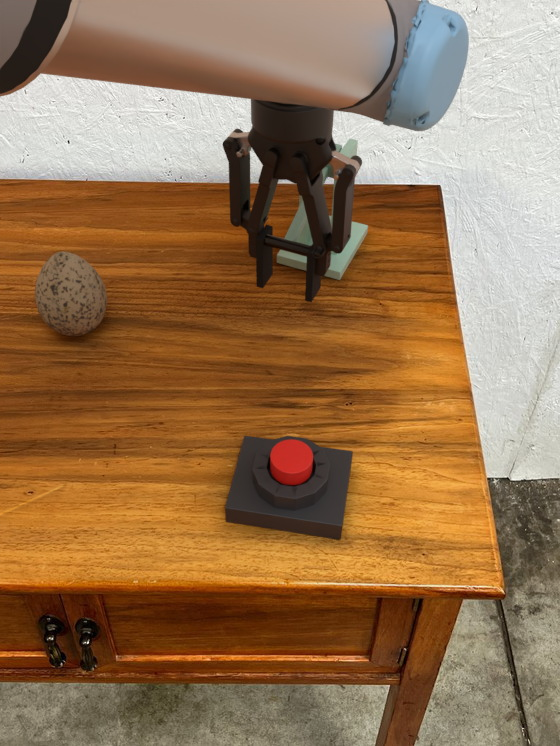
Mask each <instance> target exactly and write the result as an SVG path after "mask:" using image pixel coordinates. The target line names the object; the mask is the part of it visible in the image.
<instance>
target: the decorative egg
mask: <svg viewBox="0 0 560 746" xmlns="http://www.w3.org/2000/svg"><path fill="white" fill-rule="evenodd" d="M107 293H108V292H107V290H106V286H105V284H104V281H103V279H102V276H100V273H99V272H98V271H97V270H96V269H95V268H94V266H92V264H90V263H89V262H88V261H87V260H85V259H84V258H82V257H81V256H80V255H77V254H75V253H73V252H70V251H65V250H63V251H61V250H60V251H56V252H55V253H54V254H52V255H51V256H50V257H49V258H48V259H47V260H46V261H45V262H44V263H43V265H42V266H41V268H40V270H39V272H38V276H37V278H36V282H35V288H34V298H35V304H36V308H37V311H38V313H39V315H40V317H41V319H42V320H43V322H44V323H45V324H46V325H47V326H48V327H49V328H50V329H52V330H53V331H55V332H56V333H57V334H60V335H63V336H67V337H80V336H84V335H87V334H89V333H91V332H92V331H94V330H95V329H96V328H98V326H99V325H100V324H101V323H102V321H103V319H104V317H105V315H106V311H107V307H108V294H107Z"/></svg>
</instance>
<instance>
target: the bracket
mask: <svg viewBox="0 0 560 746" xmlns="http://www.w3.org/2000/svg"><path fill="white" fill-rule="evenodd" d="M358 145H359V140H358V139H354V138H349V139H348V140H347V141H346V143H345V144H344V146H342V150H341V151H340V153H341V154H343V155H345V156H347V157H348V158H351V157H352V156H358ZM336 182H337V181H336V180H334V179H333V190H332V203H331V215H329V217H330V222H331V227H332V223H333V204H334V189H335V185H336ZM298 199H299V200H298V207H299V206H300V204H301V202H302V200H303V198H302V196H300V195H299V194H298ZM368 231H369V225H368V224H365V223H361V222H356V221H353V220H352V225H351V237H350V239H349V241H348V243H347V244H346V246H345V248H344V249H343V251H342V252H341V253H339V254H337V253H334V252H333V251H331V261H330V267H329V269H328V270H327V272H326V274H325V275H324V277H327V278H331V279H334V280H337V281H340V280H341V279H342V278H343V275H344V274H345V272H346V270H347V269H348V267H349V265H350V264H351V262H352V260H353V259H354V257H355V256H356V254H357V252H358V251H359V249H360V247H361V245H362V243H363V242H364V240H365V238H366V237H367V235H368ZM297 242H299V243H303V244H306V245H310V246H312V244H313V241H312V237H311V232H310V228H309V224H308V220H307V221H306V223H305V225H304V227H303V230H302V232H301V234H300V236H299V238H298V240H297ZM276 263H277V264H280V265H283V266H286V267H287V266H288V267H291V268H294V269H298V270H302V271H305V272H306V265H307V257H306V256H302V255H299V254H295V253H291V252H287V251H284V250H280V249H279V250H278V252H277V254H276Z"/></svg>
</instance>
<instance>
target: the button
mask: <svg viewBox="0 0 560 746" xmlns="http://www.w3.org/2000/svg"><path fill="white" fill-rule="evenodd" d="M312 466H313V453H312V450H311V449H310V447H309V446H308V445H307V444H305V443H304V442H301V441H299V440H293V439H289V440H284V441H281V442H279V443H278V444H276V445H275V446H274V447H273V449H272V451H271V455H270V470H271V474H272V476H273V477H274V478H275V479H276V480H277V481H278V482H280V483H282V484H285V485H298V484H301V483H303V482H305V481H306V480H307V479H308V478H309V477H310V475H311V473H312Z"/></svg>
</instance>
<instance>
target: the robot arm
mask: <svg viewBox="0 0 560 746" xmlns="http://www.w3.org/2000/svg"><path fill="white" fill-rule="evenodd" d="M469 36H470V35H469V29H468V25H467V22H466V20H465V19H464V17H463V15H461V14H459V13H458V12H457V11H455V10H452V9H449V8H446V7H442V6H439V5H437V4H433V3H431V2H430V1H429V0H0V97H4V96H5V97H6V96H9V95H11V94H14V93H16V92H17V91H18V92H19V91H20V90H22V89H24V88H25V87H27V86H28V85H29V84H31V83H32V82H33V81H34V80H36V79H37V78H38V77H39V76H40V75H48V76H49V75H50V76H56V77H65V78H73V79H74V78H75V79H83V80H90V81H98V82H106V83H107V82H108V83H115V84H124V85H131V86H133V85H134V86H139V87H147V88H157V89H164V90H171V91H181V92H188V93H189V92H190V93H198V94H205V95H212V96H213V95H214V96H222V97H231V98H237V99H238V98H240V99H248V100H250V122H251V125H252V126H251V128H250V130H249V131H243V130H242V129H241V128H235V129H233V131H232V132H231V133H230V134H229V135H228V136H227V137H226V138H225V139H224V140H223V142H222V148H223V151H224V154H225V157H226V159H227V162H228V187H229V188H228V189H229V221H230V224H231V225H232V226H233V227H236V228H238V227H241V228H243V229H244V230H245V231H246V233H247V235H248V238H247V241H248V242H247V243H248V255H249V257H250V258H253V259H255V271H256V272H255V273H256V275H255V277H256V287H257V288H260V289H264V287H265V286H266V285H267V283H268V282H269V280H270V279H271V277H272V276H273V273H274V272H273V269H274V267H273V266H274V263H273V262H274V261H273V260H274V255H273V254H274V248H273V247H269V246H265V245H264V239H265V236H266V235H267V234H269V235H273V236H274V226H273V225H269V224H266V222H267V221H268V219H269V213H270V209H271V206H272V203H273V200H274V196H275V193H276V191H277V186H278V183H279V181H283V180H284V181H289V182H291V183H293V184H294V185H296V188H297V191H298V196H299V195H300V196H302V198H303V203H304V207H305V211H306V215H307V220H308V224H309V228H310V232H311V237H312V241H313V244H312V246H311V247H310V249H309V250H308V252H307V265H306V271H305V272H306V273H305V290H304V291H305V293H304V301H305V302H307V303H312V302H313V301H314V299H315V297H316V296H317V294H318V292H319V291H320V289H321V285H322V277H325V276H324V275H325V274H326V272H327V270H328V269H329V267H330V261H331V251H333V252H334V253H337V254H339V253H341V252H342V251H343V249H344V248H345V246H346V244H347V243H348V241H349V239H350V237H351V225H352V221H353V211H354V210H353V209H354V197H355V185H356V184H355V183H356V182H355V181H356V177H357V175H358V172H359V171H360V169H361V167H362V165H363V159H362V158H361V157H360V156H359V155H357V156H352V157H351V158H348V157H347V156H345V155H343V154H341V153H340V152H338V151H336V145H335V144H336V142H335V141H334V140H335V139H334V138H333V129H334V114H335V111H336V112H341V113H349V114H357V115H360V116H363V117H366V118H369V119H372V120H375V121H378V122H381V123H382V124H383V125H385V126H387V127H390V126H395V127H399V128H403V129H406V130H410V131H413V132H425V131H427V130H429V129H431V128H433V127H434V126H435V125H437V124H438V123H439V122H440V121H441V120H442V118H443V117H444V116H445V115H446V113H447V111H448V110H449V109H450V107H451V105H452V103H453V101H454V99H455V97H456V94H457V93H458V90H459V88H460V85H461V82H462V80H463V77H464V73H465V69H466V65H467V61H468V56H469V47H470V46H469V45H470V37H469ZM251 151H253V153H254V154H255V155H256V157H257V158H258V160H259V162H260V163H261V165H262V166H261V170H260V174H259V177H258V180H257V181H258V185H257V189H256V193H255V196H254V200H253V204H252V207H251ZM328 163H329V164H331V166H332V167H333V178H332V179H333V181H334V180H336V181H337V182H336V185H335V189H334V204H333V223H332V227H331V222H330V217H329V216H330V213H329V208H328V204H327V200H326V199H327V198H326V195H325V189H324V185H323V184H322V182H323V173H322V169H323V168H324V167H325V166H326V165H327V164H328Z"/></svg>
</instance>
